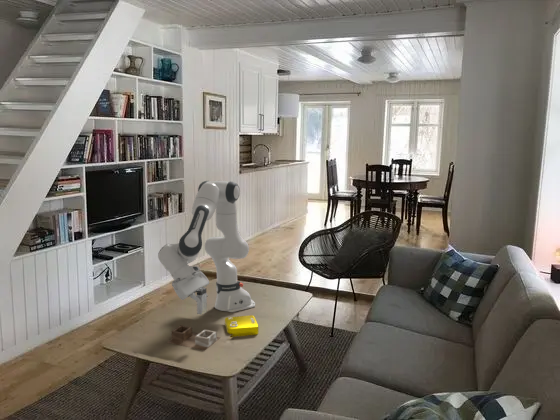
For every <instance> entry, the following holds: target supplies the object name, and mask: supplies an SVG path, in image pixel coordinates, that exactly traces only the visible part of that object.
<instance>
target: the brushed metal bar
mask: <svg viewBox="0 0 560 420" xmlns="http://www.w3.org/2000/svg"><path fill="white" fill-rule="evenodd" d="M206 294H207V287H205V288H200V289H198V290H197V292H196V296H197V297H200V298H201V301H200V302H198V303H197V302H196V308H197V309H196V311H197V312H196V314H197V315H201V316H202V315H204V314H205V313H207V312H208V311H207V310H208V307H207V306H208V304H207V303H208V302H207V301H208V300H207V299H208V297H207V295H208V294H207V295H206Z"/></svg>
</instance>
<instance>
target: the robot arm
mask: <svg viewBox="0 0 560 420" xmlns="http://www.w3.org/2000/svg"><path fill="white" fill-rule="evenodd" d="M240 192H241V190H240V186H239V185H238V184H237V183H236V182H235V181H234V182H233V181H226V180H205V181H202V182H201V183H200V184H199V185H198V188H197V193H196V196H195V197H194V200H193V204H192V207H191V208H192V209H191V214H192V218H191V221H190V223H189V227H188V229H187V231H185V232H184V234H182V236H181V237H180V239H179V242H178V243H171V244H170V243H166V244H165V245H163V246H162V247H161V248H160V250H159V251H158V255H157V258H158V260H159V262H160V263H161V265H162V266H163V267H164V269H165V270H166V271H168V272H169V274H170V276H171V277H172V278H173V280H172V282H171V286H172V288H173V290H174V292H175V294H176V295H177V297H178V298H179V299H180V300H182V301H184V300H186V299H187V298H189V297H190V299H192V300H194V301H195V302H196V304H197V303H198V302H200V301H201V298H200V297H197V290H198V289H200V288H207V286H208V285H209V284H210V280H209V279H208V277H207V276H206V275H205V274H204V273H203V271H201V268H200V267H199V266H197V265H195V266H193V265H189V264H190V263H192V262H194V261H195V260H196V259H197V258H198V256H199V253H200V251H201V249H202V246H203V238H202V235H203V234H202V233H203V231H204V228H205V225H206V223H207V221H209V220H211V218H212V216H213V215H214V213H215V225H216V228H217V230H219V231H220V232H221V233H222V234H223V236H224V237H223V236H210V237H208V238H207V239H206V240H205V243H204V250H205V252H206V254H207V255H208V256H210V258H211V259H212V261H213V263H214V266H215V269H216V270H215V271H216V283H215V289H216V290H215V291H216V298H215V303H214V308H215V310H218V311H223V312H229V313H235V312H238V311H242V310H244V311H245V310H246V309H251V308H255V307H256V302H255V301H254V300H253V299H252V297H251V294H250V293H249V292H248V291H247V290H245V289H244V288H243V286H244V283H242V282H241V281H239V280H238V269H237V268H238V267H236V265H235V264H234V263H233V262H232V261H231V260H230V259H233V260H241V259H245V258H246V257H247V256H248V255H249V251H250V247H249V244H248V242H247V241H246V240H245V239H244V238H243V237H242V235H241V233H240V231H239V228H238V219H237V218H238V216H237V213H238V212H237V209H238V208H237V202H236V201H237V200H238V199H239V197H240V194H241V193H240ZM206 295H207V298H208V296H209V295H208V293H206Z"/></svg>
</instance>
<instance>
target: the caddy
mask: <svg viewBox="0 0 560 420" xmlns="http://www.w3.org/2000/svg"><path fill="white" fill-rule="evenodd" d="M220 339H221V337H219V336H218V331H215V330H209V329H203V330H202V331H201V332H199V333H198V332H194V331H193V327H192V326H187V325H179V326H178V327H176V328H175V329H173V330H172V331H171V339H169V340H168V341H167V342H166V343H168V344H172V345H178V346H182V347H186V348H191V349H196V350H202V351H207V350H208V349H209V348H210V347H211V346H213V345H214V344H215V343H216V342H217V341H219V340H220Z"/></svg>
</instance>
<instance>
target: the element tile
mask: <svg viewBox="0 0 560 420" xmlns="http://www.w3.org/2000/svg"><path fill="white" fill-rule="evenodd" d="M224 326H225V329H226V332H227V334H229V335H230V336H229V337H230V338H236V337H237V336H238V337H246V336H247V337H249V336H257V335H259V324H258V321H257V319H256V317H255V316H254V315H253V314H251V315H239V316H228V317H227V316H226V317H225V318H224ZM248 335H249V336H248ZM238 337H237V338H238Z"/></svg>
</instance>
